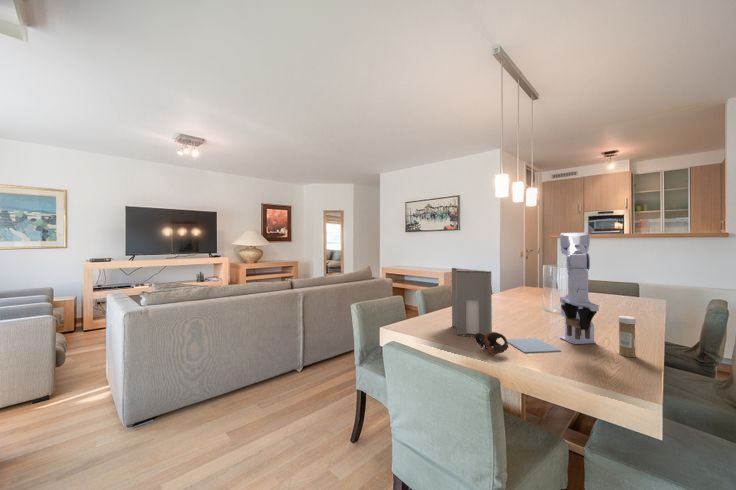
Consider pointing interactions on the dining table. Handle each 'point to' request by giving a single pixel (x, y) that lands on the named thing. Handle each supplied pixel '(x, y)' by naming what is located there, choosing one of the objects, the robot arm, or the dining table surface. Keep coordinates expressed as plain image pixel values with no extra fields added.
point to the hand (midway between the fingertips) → (578, 327)
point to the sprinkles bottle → (627, 336)
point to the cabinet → (471, 301)
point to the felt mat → (531, 345)
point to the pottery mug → (491, 342)
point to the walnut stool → (576, 328)
